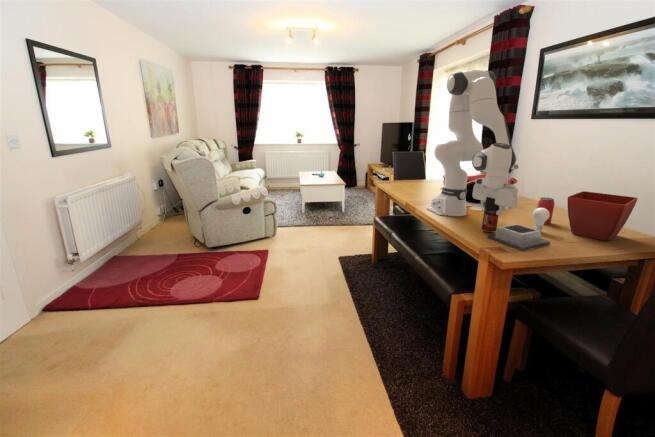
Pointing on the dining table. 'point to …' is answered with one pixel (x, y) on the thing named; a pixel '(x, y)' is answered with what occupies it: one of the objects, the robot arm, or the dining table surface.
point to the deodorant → (490, 215)
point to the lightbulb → (540, 217)
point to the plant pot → (598, 214)
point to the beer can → (547, 206)
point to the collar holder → (519, 237)
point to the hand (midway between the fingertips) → (491, 212)
